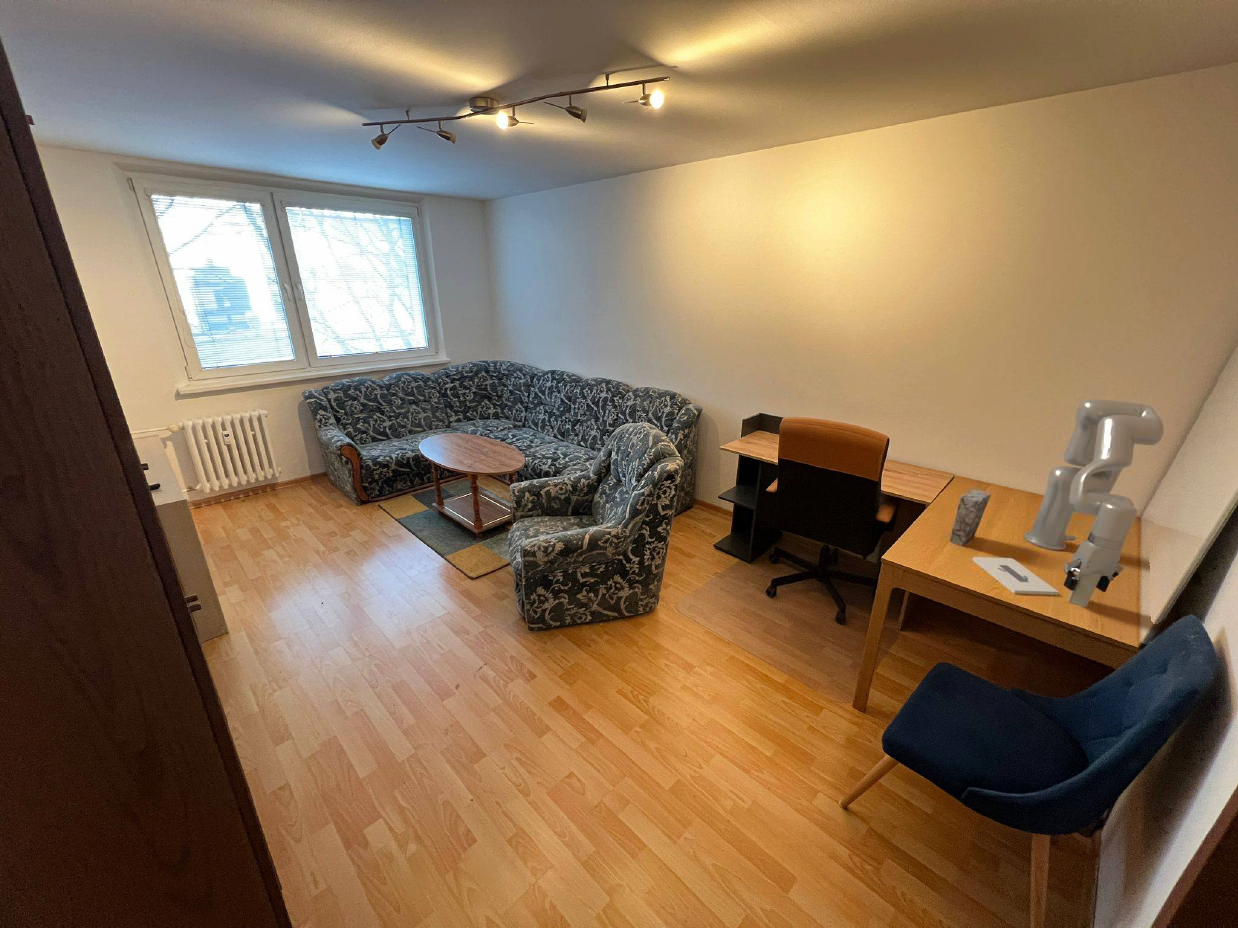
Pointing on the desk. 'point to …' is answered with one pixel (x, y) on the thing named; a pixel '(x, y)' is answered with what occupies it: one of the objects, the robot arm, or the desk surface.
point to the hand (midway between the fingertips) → (1084, 588)
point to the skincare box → (1084, 589)
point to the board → (1014, 576)
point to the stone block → (969, 516)
